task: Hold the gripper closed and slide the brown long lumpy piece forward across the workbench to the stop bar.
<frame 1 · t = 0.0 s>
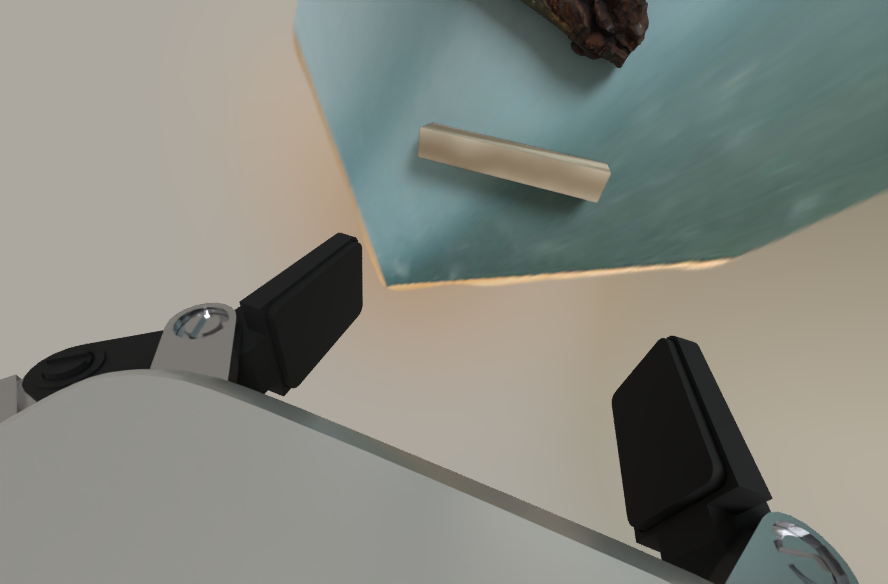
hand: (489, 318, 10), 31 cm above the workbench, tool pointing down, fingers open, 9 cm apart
stop bar: (512, 156, 36), on the workbench
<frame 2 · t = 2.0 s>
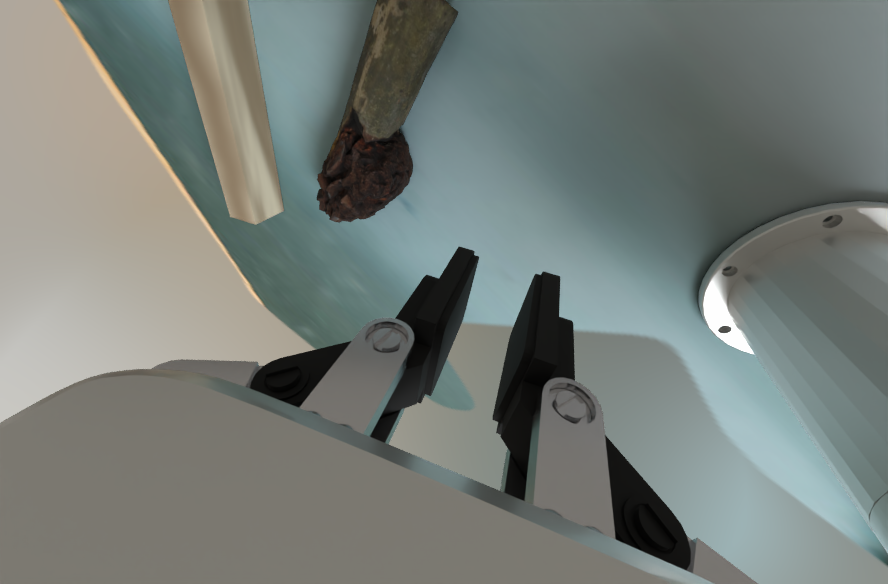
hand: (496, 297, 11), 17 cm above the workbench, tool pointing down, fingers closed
brown long lumpy piece: (394, 127, 26), on the workbench
stop bar: (251, 102, 28), on the workbench
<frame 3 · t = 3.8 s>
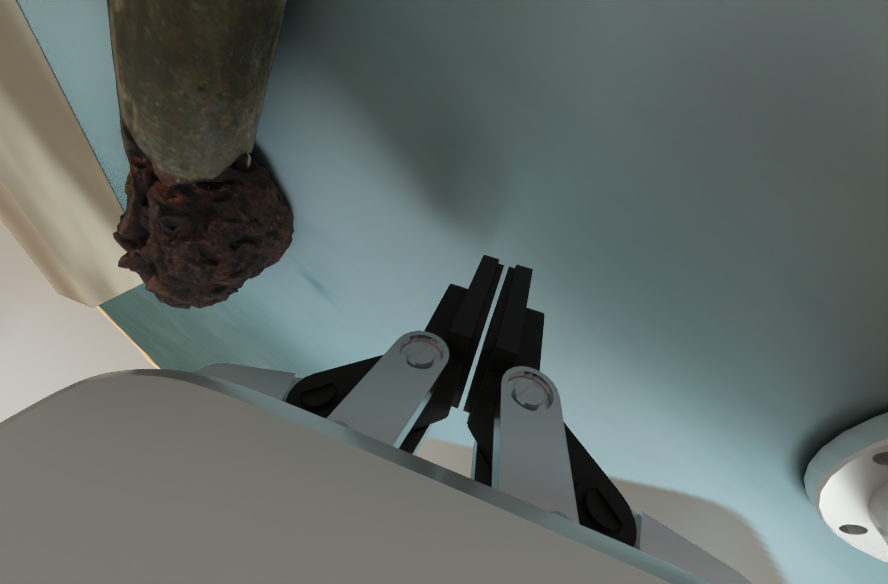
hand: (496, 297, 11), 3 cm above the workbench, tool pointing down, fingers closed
brown long lumpy piece: (259, 151, 15), on the workbench
stop bar: (61, 123, 17), on the workbench
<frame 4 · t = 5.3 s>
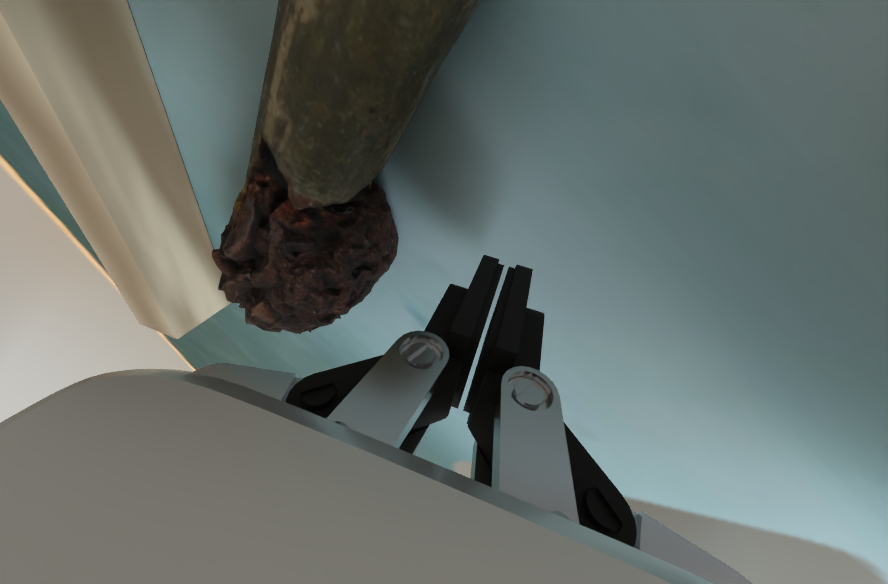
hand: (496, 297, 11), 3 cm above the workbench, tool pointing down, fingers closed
brown long lumpy piece: (367, 166, 14), on the workbench
stop bar: (158, 150, 17), on the workbench
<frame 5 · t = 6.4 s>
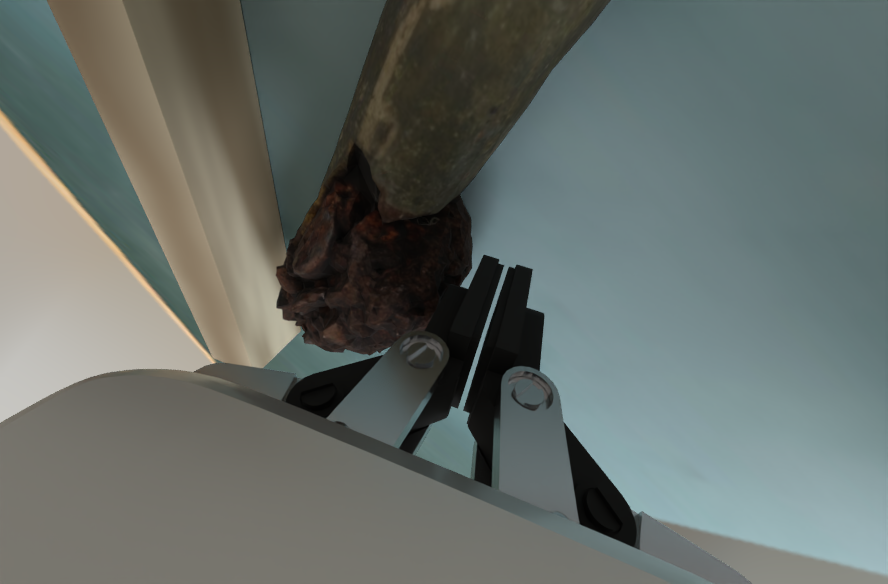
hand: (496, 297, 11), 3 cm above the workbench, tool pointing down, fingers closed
brown long lumpy piece: (438, 172, 13), on the workbench
stop bar: (248, 179, 15), on the workbench
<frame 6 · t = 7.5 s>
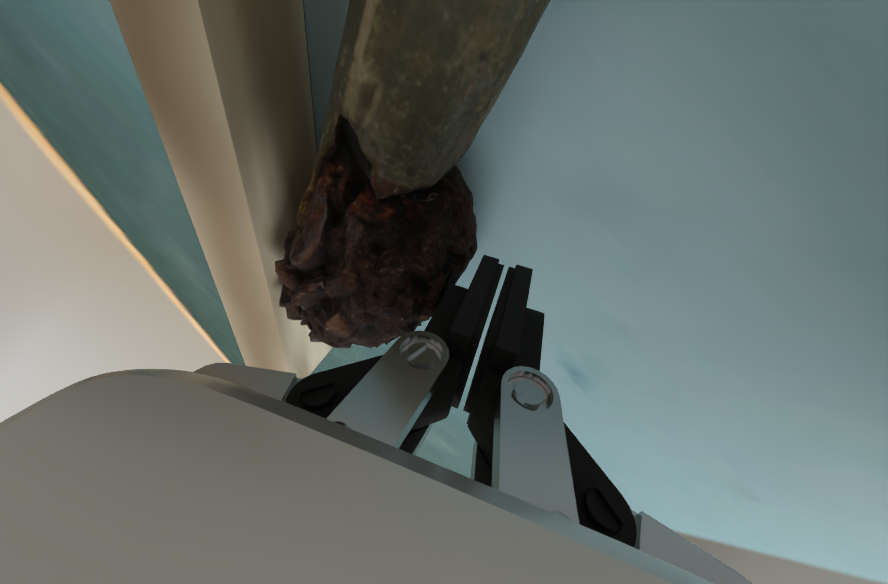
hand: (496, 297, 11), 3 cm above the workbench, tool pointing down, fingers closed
brown long lumpy piece: (435, 152, 12), on the workbench, touching gripper
stop bar: (293, 193, 15), on the workbench
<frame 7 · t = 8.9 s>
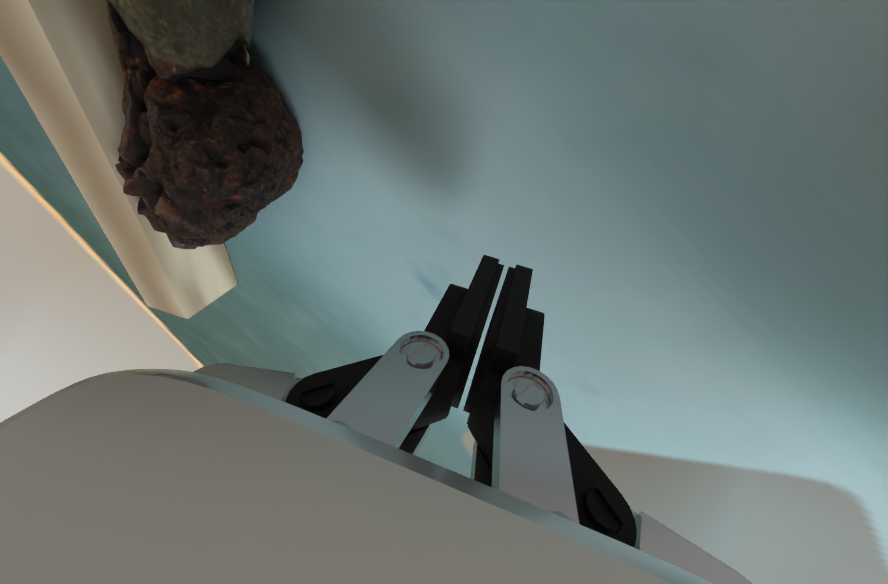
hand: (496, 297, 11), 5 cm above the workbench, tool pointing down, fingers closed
brown long lumpy piece: (257, 63, 14), on the workbench
stop bar: (163, 128, 17), on the workbench
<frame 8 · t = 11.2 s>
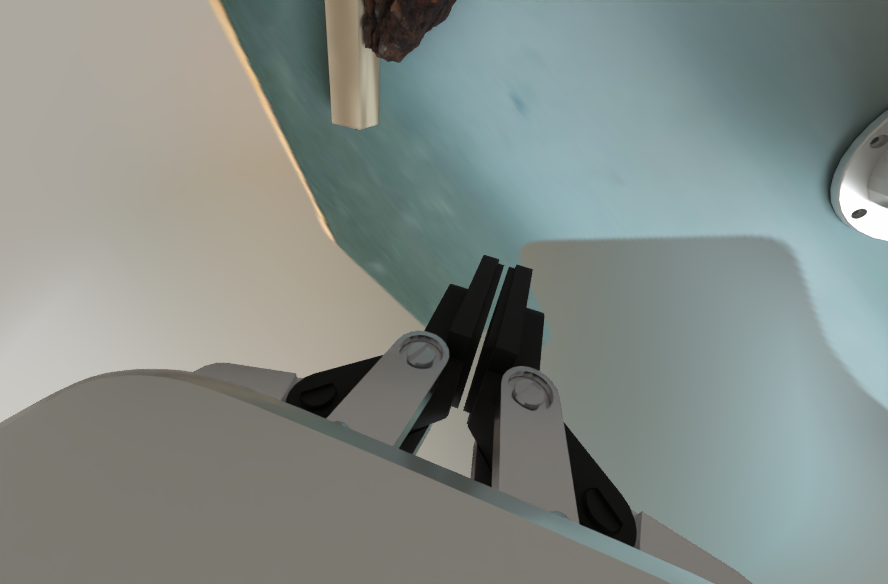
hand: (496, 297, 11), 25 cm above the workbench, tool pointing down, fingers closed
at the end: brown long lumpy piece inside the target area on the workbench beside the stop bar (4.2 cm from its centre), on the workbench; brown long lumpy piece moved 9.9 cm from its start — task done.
